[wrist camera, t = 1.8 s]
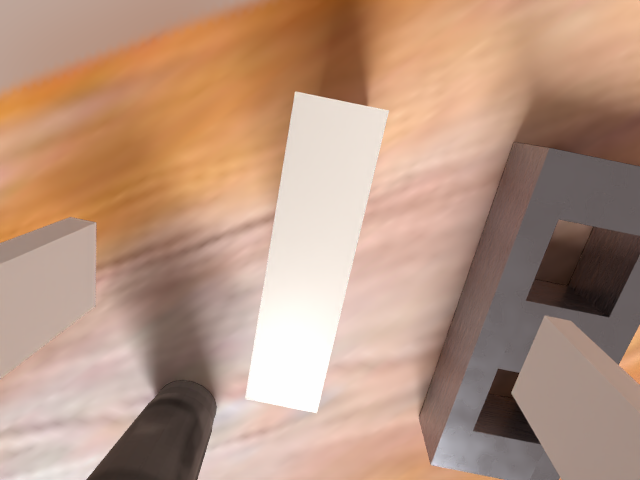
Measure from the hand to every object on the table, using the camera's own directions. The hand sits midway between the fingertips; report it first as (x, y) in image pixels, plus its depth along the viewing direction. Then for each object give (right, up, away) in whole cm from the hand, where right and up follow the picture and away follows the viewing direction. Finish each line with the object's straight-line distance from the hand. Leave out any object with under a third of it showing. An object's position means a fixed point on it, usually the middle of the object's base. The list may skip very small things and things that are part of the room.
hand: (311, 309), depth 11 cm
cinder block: (+13, -2, +14) cm, 19 cm away
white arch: (0, +4, +13) cm, 13 cm away
